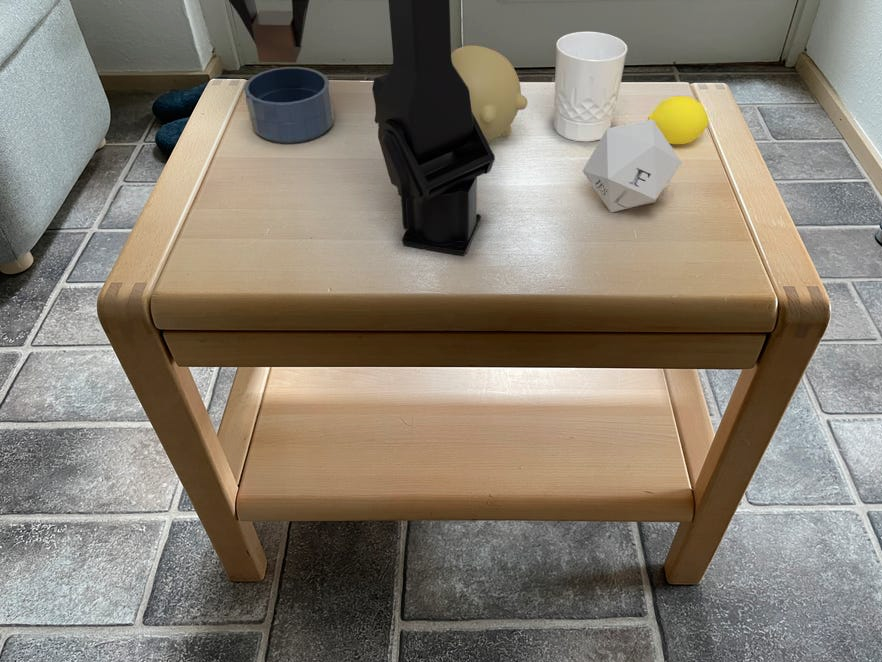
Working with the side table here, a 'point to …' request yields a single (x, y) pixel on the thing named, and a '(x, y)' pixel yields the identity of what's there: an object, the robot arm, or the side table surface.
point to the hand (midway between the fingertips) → (279, 45)
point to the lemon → (680, 119)
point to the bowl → (289, 104)
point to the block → (275, 36)
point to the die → (631, 165)
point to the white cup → (587, 83)
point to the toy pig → (490, 88)
